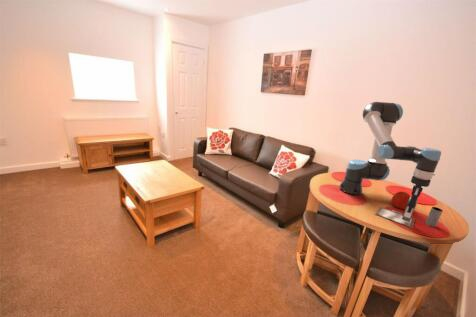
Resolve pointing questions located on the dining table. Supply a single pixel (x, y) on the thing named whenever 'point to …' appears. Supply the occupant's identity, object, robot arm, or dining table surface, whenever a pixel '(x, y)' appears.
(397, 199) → the apple
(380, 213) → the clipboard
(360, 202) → the dining table surface
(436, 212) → the grey hollow cylinder
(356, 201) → the dining table surface
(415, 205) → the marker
